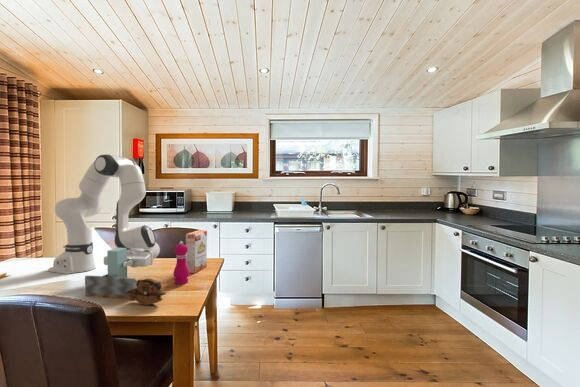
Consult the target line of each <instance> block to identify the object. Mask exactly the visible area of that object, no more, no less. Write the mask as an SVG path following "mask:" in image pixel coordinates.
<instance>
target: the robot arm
mask: <svg viewBox="0 0 580 387" xmlns="http://www.w3.org/2000/svg"><path fill="white" fill-rule="evenodd" d="M111 177H112V178H118V179H119V181H120V195H119V199H118V201H117V202H116V206H115V207H116V210H115V212H116V213H115V217H116V218H115V235H114V244H115V247H116V248H127V262H123V263H121V267H126V266H127V267H130V268H137V267H138V268H139V267H140V268H142V267H143V268H144V267H148V266H152V265H153V263H154V260H155V259H156V258H157V257H158V256H159V254H160V252H161V248H160V245H159V244H158V243H157V242H156V235H155V231H154V230H153V229H152V228H151V227H150V226H148V225H140V226H136V227H133V228H129V214H130V212H131V210H132V209H133V208H134V207H135V206H136V205H138V204H140V203H141V202H142V201H143V199H144V198H145V197H146V194H147V193H146V192H147V189H146V184H145V182H146V181H145V178H144V175H143V172H142V169H141V167H140V166H139V165H138V164H137V161H135V160H133V159H131V158H127V157H123V156H120V155H111V154H100V155H98V156H97V157H96V158H95V160H94V161H93V162H92V163H91V164H90V165H89V167H88V168H87V170H86V171H85V174H84V175H83V177H82V178H81V180H80V182H79V183H78V188H79V190H80V195H79V196H78V197H71V198H70V197H68V198H65V199H62V200H58V201H57V202H56V203H55V205H54V213H55V215H56V216H57V217H58V218H59V219H60V220H61V221H62V222H63V224H64V225H65V227H66V234H67V244H65V245H64V246H63V247H62V248H63V249H64V248H65V249H64V251H63V252H62V253H61V254H59V255H58V256H57V257H55V258H54V260H53V264H52V267H50V268H48V269H47V272H50V273H58V274H64V275H68V274H69V275H70V274H73V273H74V274H75V273H82V272H84V273H85V272H88V271H89V272H90V271H92V270H94V269H96V264H95V260H94V255H93V254H94V252H93V249H94V243H93V235H92V234H93V233H92V231H93V229H92V227H91V226H89V225H88V224H87V223H86V220H85V218H88V217H92V216H95V215H98V214H99V213H100V212H101V210H102V208H103V207H102V202H101V200H100V198H101V195H102V192H103V191H104V188H105V187H106V185H107V183H108V182H109V180H110V179H111ZM103 264H104V266H108V260H107V255H106V256H103Z"/></svg>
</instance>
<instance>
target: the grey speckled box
mask: <svg viewBox="0 0 580 387" xmlns="http://www.w3.org/2000/svg"><path fill="white" fill-rule="evenodd" d="M137 281H138V280H136V277H127V278H124V277H108V273H106V274H104V275H85V276H84V292H85V294H84V296H85V297H90V298H91V297H92V298H93V297H94V298H105V299H107V298H108V299H122V300H130V298H129V296H128V293H127V291H129V290H131V289H133V288H137V286H136V284H137Z"/></svg>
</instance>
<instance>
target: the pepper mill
mask: <svg viewBox="0 0 580 387" xmlns="http://www.w3.org/2000/svg"><path fill="white" fill-rule="evenodd" d="M187 251H188V248H187V246H186V244H184V242H183V241H182V240H180V241H179V244H178V245H176V246H175V248H174V253H175V259H176V264H175V267H174V269H173V277H174V278H175V279H174V284H175V285H185V284H188V283H189V278H188V277H189V276H190V273H189V269H188V267H187V264H186V257H187V256H186V255H187V254H186V253H187Z"/></svg>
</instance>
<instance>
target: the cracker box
mask: <svg viewBox="0 0 580 387" xmlns="http://www.w3.org/2000/svg"><path fill="white" fill-rule="evenodd" d="M185 245H186V246H187V248H188V251H187V253H186V254H187V255H186V256H187V257H186V264H187V267H188V269H189V274H196V273H198V272H200V271H202V270H204V269H205V268H207V266H208V265H207V260H208V259H207V258H208V254H207V253H208V252H207V251H208V230H201V229H199V230H195V231H192V232H188V233H186V234H185Z"/></svg>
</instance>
